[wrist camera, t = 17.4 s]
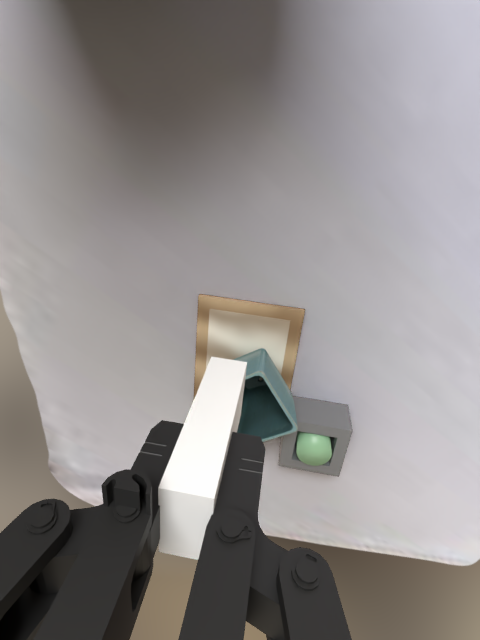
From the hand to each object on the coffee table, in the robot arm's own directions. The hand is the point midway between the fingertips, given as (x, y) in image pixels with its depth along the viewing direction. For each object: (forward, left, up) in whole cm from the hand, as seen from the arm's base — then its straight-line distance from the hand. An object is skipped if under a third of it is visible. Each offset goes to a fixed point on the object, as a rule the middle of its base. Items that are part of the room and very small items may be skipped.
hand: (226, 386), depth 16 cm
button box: (+26, +9, -29) cm, 40 cm away
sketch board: (+18, -2, -29) cm, 35 cm away
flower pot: (+18, 0, -29) cm, 34 cm away
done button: (+26, +9, -29) cm, 40 cm away
